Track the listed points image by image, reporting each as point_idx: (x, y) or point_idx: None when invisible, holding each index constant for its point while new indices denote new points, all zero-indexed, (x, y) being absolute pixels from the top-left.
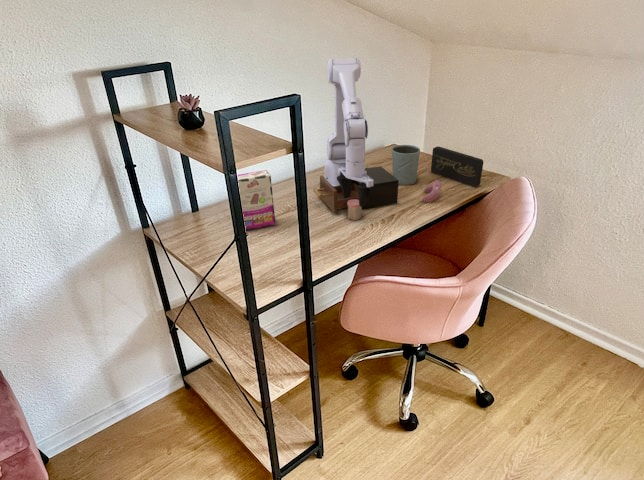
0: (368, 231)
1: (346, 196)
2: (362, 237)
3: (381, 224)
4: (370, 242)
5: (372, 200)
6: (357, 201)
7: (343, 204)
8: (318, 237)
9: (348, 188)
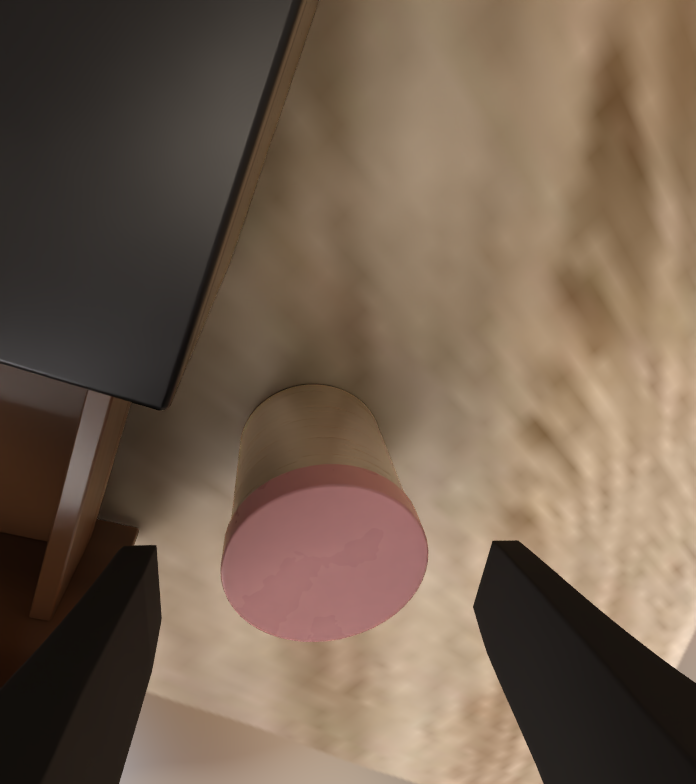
0: (571, 517)
1: (152, 623)
2: (581, 591)
3: (603, 363)
4: (659, 591)
5: (279, 110)
6: (340, 534)
7: (99, 492)
8: (359, 754)
9: (100, 720)
